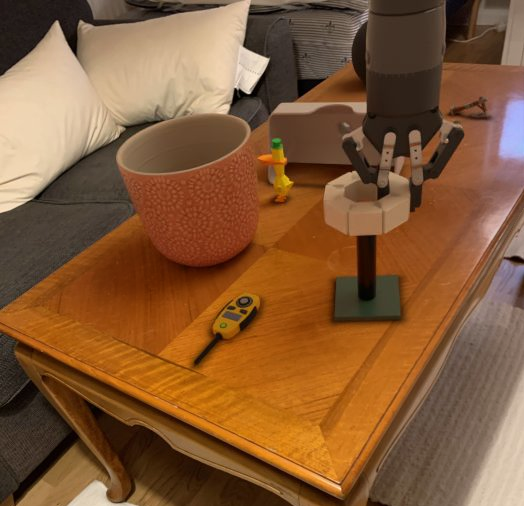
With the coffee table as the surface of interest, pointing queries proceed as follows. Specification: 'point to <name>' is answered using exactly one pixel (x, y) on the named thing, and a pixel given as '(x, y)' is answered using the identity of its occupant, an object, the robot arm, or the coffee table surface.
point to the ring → (365, 205)
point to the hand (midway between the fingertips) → (398, 209)
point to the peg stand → (367, 288)
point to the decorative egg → (360, 52)
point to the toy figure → (278, 169)
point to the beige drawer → (319, 133)
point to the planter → (194, 186)
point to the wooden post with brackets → (471, 105)
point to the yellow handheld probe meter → (233, 319)
